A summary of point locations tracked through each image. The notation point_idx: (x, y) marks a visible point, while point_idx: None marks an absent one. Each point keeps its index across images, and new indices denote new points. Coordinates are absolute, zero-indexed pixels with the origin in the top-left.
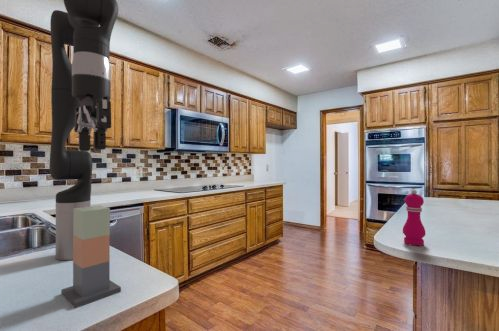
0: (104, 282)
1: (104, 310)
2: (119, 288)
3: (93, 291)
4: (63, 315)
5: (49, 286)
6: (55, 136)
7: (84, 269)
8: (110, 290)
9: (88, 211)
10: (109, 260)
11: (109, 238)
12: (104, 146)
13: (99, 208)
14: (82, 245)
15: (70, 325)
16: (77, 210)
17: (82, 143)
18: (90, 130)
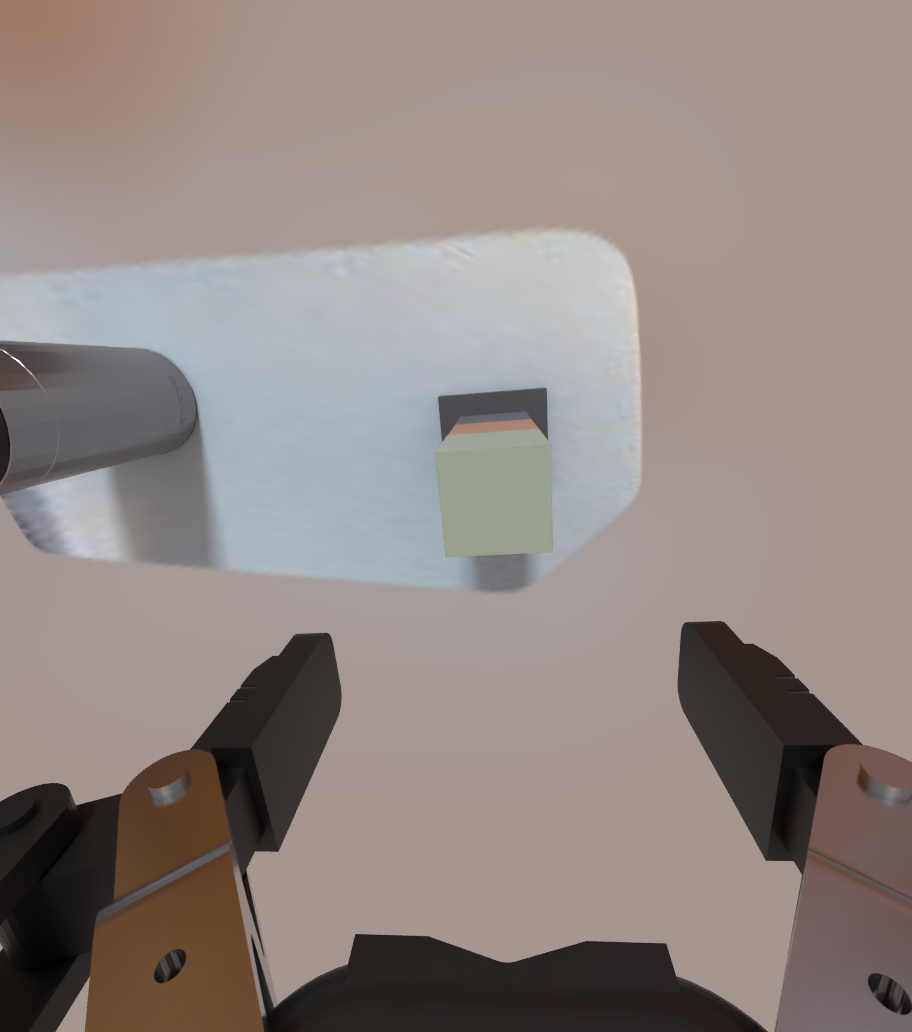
0: None
1: (608, 450)
2: (546, 392)
3: None
4: (561, 515)
5: (379, 506)
6: None
7: None
8: (546, 415)
9: (551, 530)
10: (531, 419)
11: (537, 427)
12: (754, 647)
13: (526, 481)
14: None
15: (613, 515)
16: (493, 554)
17: (317, 736)
18: (228, 816)
